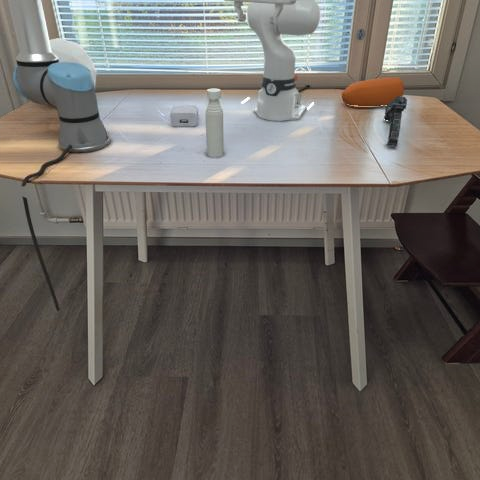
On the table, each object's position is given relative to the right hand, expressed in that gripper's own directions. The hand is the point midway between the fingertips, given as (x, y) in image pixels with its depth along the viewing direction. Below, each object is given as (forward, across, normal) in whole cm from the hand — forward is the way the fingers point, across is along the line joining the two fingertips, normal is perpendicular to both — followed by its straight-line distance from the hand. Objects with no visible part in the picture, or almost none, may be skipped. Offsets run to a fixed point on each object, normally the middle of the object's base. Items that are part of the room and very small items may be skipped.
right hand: (257, 22), depth 106 cm
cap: (+17, +9, +8) cm, 21 cm away
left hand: (-4, +61, -27) cm, 67 cm away
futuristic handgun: (+35, -33, -38) cm, 62 cm away
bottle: (+36, +9, +8) cm, 37 cm away
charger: (+35, +35, -14) cm, 52 cm away
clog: (+35, -18, -68) cm, 79 cm away
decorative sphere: (+35, +86, -6) cm, 94 cm away
